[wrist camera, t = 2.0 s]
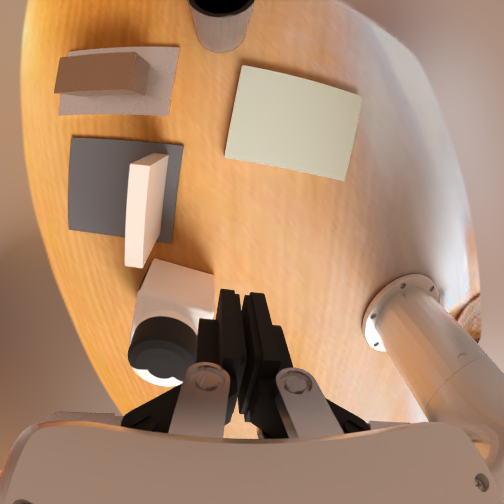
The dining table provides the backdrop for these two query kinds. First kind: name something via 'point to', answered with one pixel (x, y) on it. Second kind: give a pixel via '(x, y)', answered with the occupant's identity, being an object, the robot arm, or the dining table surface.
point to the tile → (144, 207)
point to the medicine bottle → (169, 321)
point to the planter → (221, 22)
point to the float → (117, 81)
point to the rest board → (292, 123)
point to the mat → (114, 184)
